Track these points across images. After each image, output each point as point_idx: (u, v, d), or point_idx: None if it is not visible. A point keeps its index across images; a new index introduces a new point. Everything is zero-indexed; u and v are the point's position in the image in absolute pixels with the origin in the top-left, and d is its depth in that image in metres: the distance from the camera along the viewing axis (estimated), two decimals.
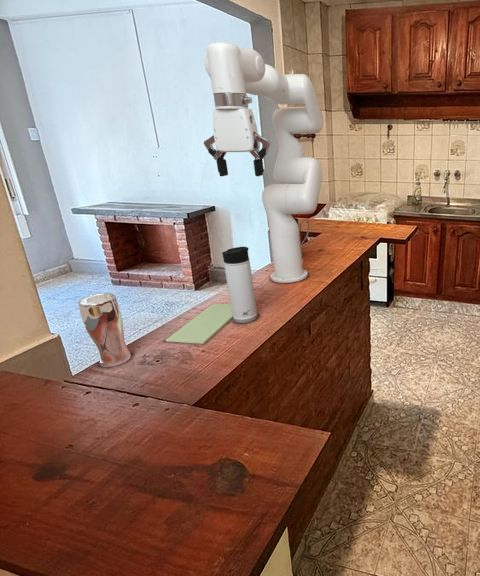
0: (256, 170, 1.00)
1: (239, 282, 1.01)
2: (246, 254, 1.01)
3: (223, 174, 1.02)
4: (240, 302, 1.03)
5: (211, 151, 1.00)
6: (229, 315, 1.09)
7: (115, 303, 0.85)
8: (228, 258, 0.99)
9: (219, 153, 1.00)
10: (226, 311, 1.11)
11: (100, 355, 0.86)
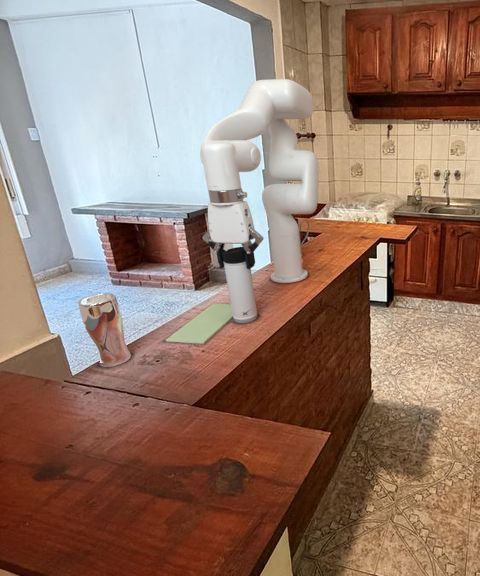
0: (247, 263, 1.00)
1: (239, 282, 1.01)
2: None
3: (223, 266, 1.02)
4: (240, 302, 1.03)
5: (211, 244, 1.00)
6: (229, 315, 1.09)
7: (115, 303, 0.85)
8: (228, 258, 0.99)
9: (218, 246, 0.99)
10: (226, 311, 1.11)
11: (100, 355, 0.86)
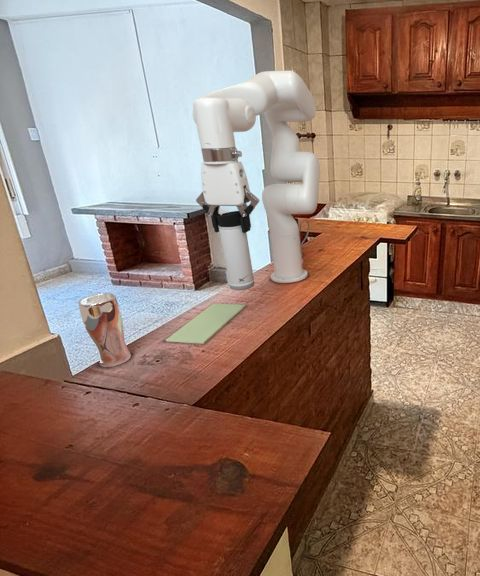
0: (243, 227, 0.97)
1: (235, 247, 0.98)
2: None
3: (218, 230, 0.99)
4: (236, 267, 1.00)
5: (205, 207, 0.97)
6: (229, 315, 1.09)
7: (115, 303, 0.85)
8: (223, 221, 0.96)
9: (212, 208, 0.96)
10: (226, 311, 1.11)
11: (100, 355, 0.86)
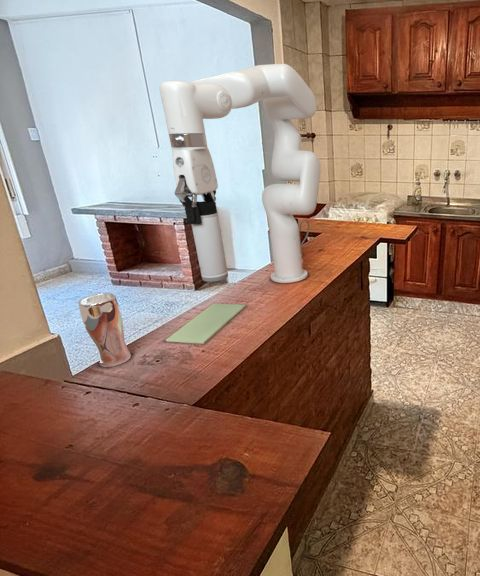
0: (187, 217, 0.93)
1: None
2: None
3: None
4: None
5: None
6: (229, 315, 1.09)
7: (115, 303, 0.85)
8: None
9: None
10: (226, 311, 1.11)
11: (100, 355, 0.86)
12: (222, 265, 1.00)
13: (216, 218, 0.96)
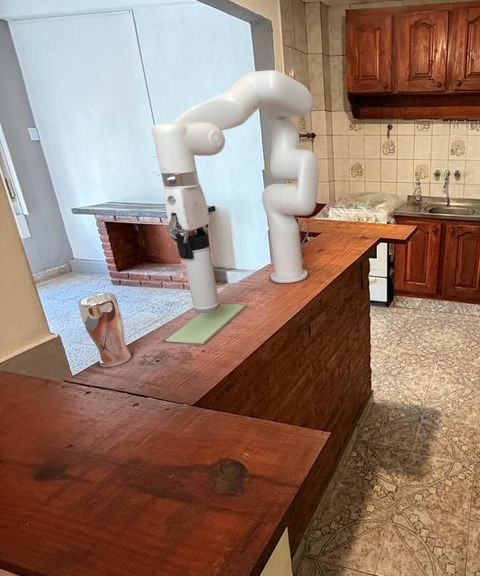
0: (179, 252, 0.95)
1: None
2: None
3: None
4: None
5: None
6: (229, 315, 1.09)
7: (115, 303, 0.85)
8: None
9: None
10: (226, 311, 1.11)
11: (100, 355, 0.86)
12: (213, 297, 1.02)
13: (208, 252, 0.99)
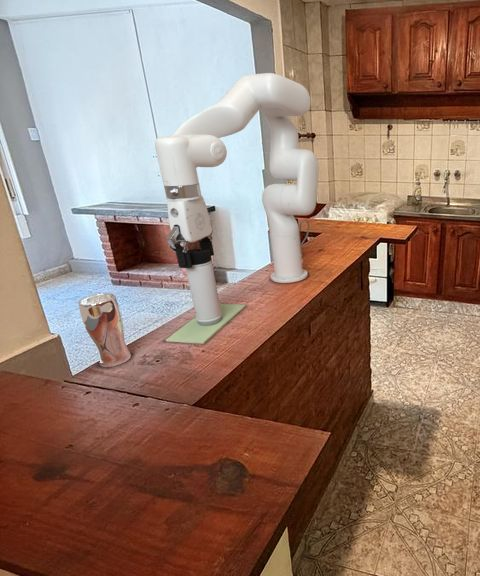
0: (178, 261, 0.95)
1: (188, 281, 1.01)
2: None
3: None
4: None
5: None
6: (229, 315, 1.09)
7: (115, 303, 0.85)
8: None
9: None
10: (226, 311, 1.11)
11: (100, 355, 0.86)
12: (216, 309, 1.03)
13: (210, 266, 1.00)
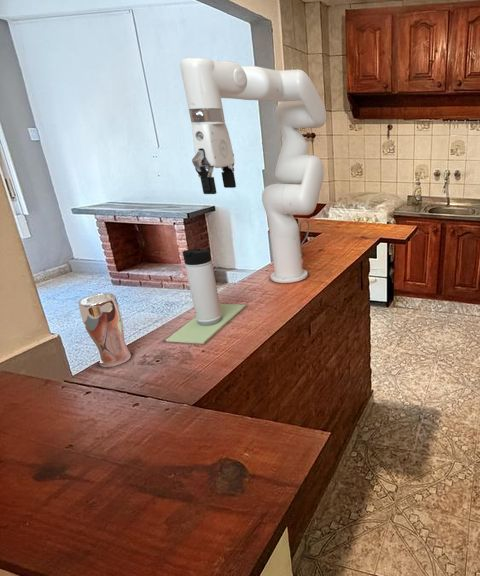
0: (203, 187, 0.97)
1: (188, 281, 1.01)
2: (189, 258, 0.96)
3: (225, 186, 1.05)
4: None
5: None
6: (229, 315, 1.09)
7: (115, 303, 0.85)
8: None
9: None
10: (226, 311, 1.11)
11: (100, 355, 0.86)
12: (216, 309, 1.03)
13: (210, 266, 1.00)
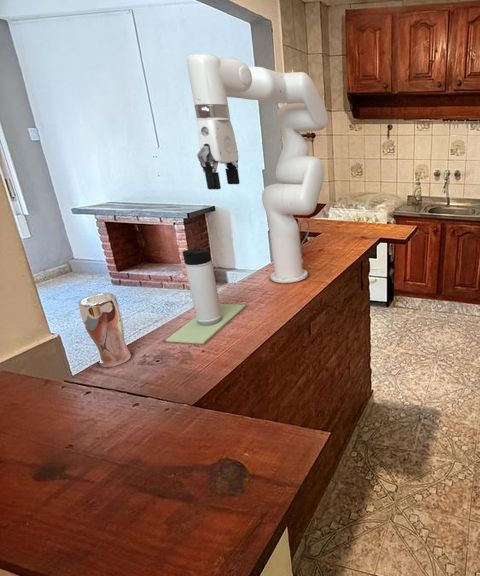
0: (207, 183, 0.97)
1: (188, 281, 1.01)
2: (189, 258, 0.96)
3: (229, 182, 1.06)
4: None
5: None
6: (229, 315, 1.09)
7: (115, 303, 0.85)
8: None
9: None
10: (226, 311, 1.11)
11: (100, 355, 0.86)
12: (216, 309, 1.03)
13: (210, 266, 1.00)
